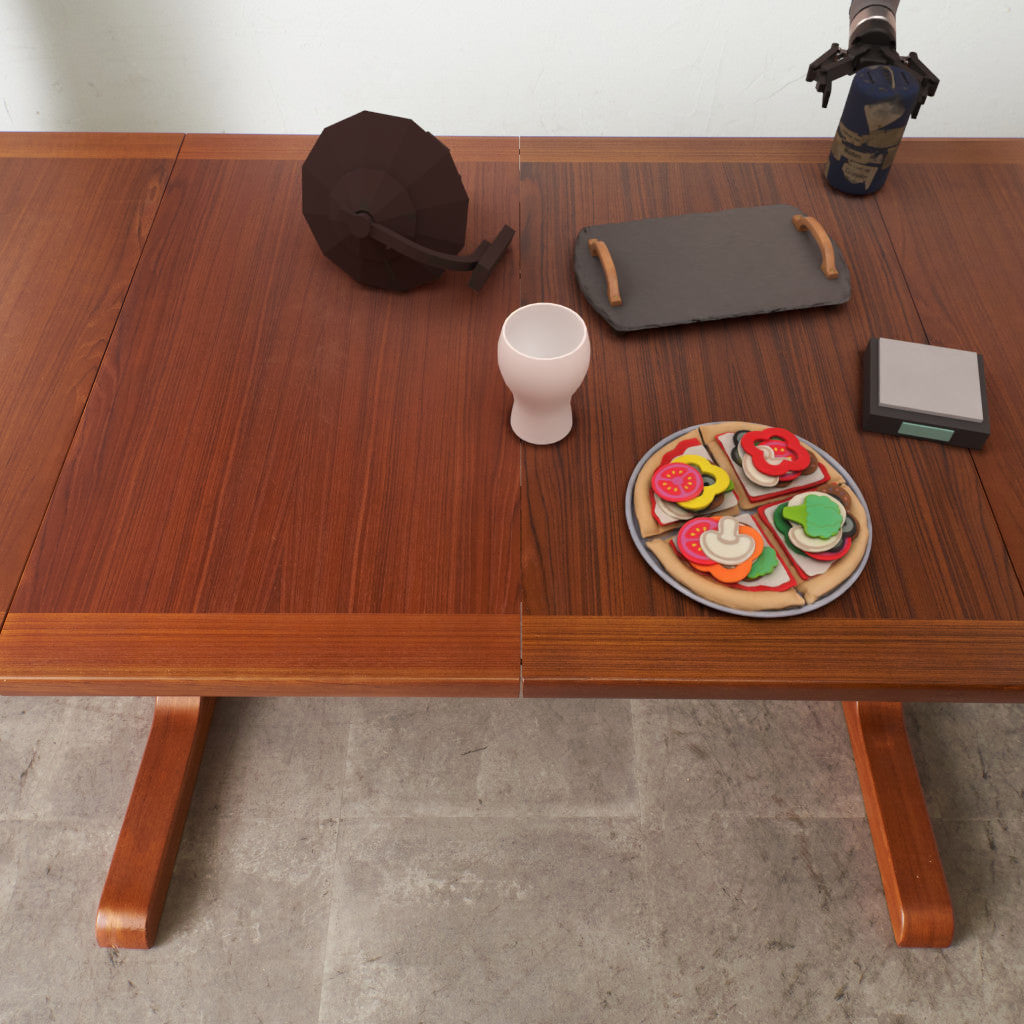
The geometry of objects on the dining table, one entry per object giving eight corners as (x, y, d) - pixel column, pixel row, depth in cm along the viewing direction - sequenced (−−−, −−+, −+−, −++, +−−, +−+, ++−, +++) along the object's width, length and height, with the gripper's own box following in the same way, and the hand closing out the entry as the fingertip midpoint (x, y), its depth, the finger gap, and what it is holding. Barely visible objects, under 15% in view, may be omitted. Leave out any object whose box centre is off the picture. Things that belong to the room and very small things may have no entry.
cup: (563, 382, 116) (569, 290, 104) (597, 440, 110) (607, 349, 98) (486, 404, 114) (483, 312, 102) (517, 464, 108) (517, 373, 96)
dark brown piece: (386, 50, 129) (304, 85, 105) (559, 156, 132) (518, 213, 108) (330, 197, 143) (247, 257, 119) (488, 289, 146) (438, 367, 122)
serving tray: (594, 349, 120) (598, 313, 115) (558, 243, 134) (559, 207, 129) (866, 313, 124) (881, 277, 119) (804, 215, 138) (814, 178, 133)
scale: (973, 371, 117) (984, 351, 115) (980, 451, 109) (993, 431, 106) (863, 354, 119) (871, 333, 117) (862, 431, 111) (871, 411, 108)
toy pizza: (788, 404, 114) (797, 380, 110) (918, 578, 98) (933, 555, 95) (587, 462, 108) (589, 437, 105) (691, 655, 93) (698, 634, 89)
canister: (820, 195, 141) (855, 82, 127) (823, 162, 147) (856, 50, 132) (883, 204, 140) (925, 91, 125) (883, 170, 145) (924, 58, 131)
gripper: (940, 71, 153) (945, 138, 141) (791, 54, 157) (783, 118, 144) (957, 26, 147) (964, 91, 135) (802, 9, 151) (795, 71, 138)
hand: (871, 105), depth 139 cm, fingers open, 13 cm apart
